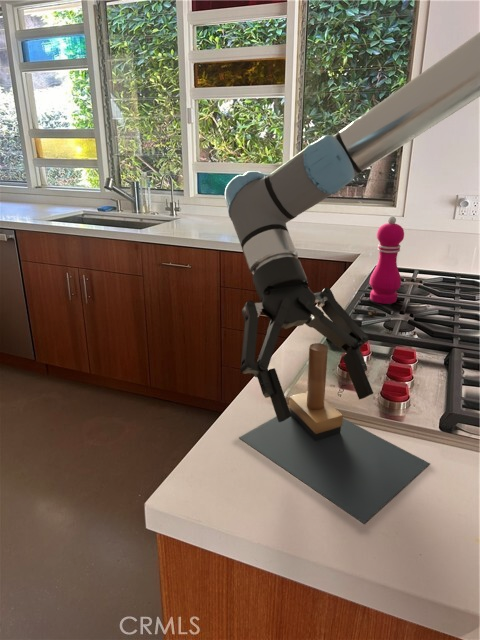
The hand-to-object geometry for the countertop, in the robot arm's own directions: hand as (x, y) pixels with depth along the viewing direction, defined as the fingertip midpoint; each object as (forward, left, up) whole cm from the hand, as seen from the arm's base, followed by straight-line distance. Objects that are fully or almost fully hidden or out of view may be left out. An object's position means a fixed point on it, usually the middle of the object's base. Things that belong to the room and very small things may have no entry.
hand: (327, 407), depth 61 cm
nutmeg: (+21, -44, -5) cm, 49 cm away
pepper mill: (+24, -53, -5) cm, 58 cm away
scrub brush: (+3, -1, -4) cm, 5 cm away
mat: (-3, +2, -5) cm, 6 cm away
